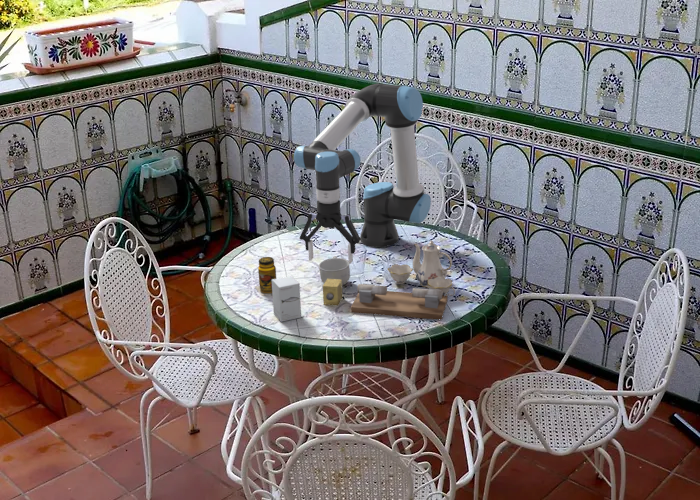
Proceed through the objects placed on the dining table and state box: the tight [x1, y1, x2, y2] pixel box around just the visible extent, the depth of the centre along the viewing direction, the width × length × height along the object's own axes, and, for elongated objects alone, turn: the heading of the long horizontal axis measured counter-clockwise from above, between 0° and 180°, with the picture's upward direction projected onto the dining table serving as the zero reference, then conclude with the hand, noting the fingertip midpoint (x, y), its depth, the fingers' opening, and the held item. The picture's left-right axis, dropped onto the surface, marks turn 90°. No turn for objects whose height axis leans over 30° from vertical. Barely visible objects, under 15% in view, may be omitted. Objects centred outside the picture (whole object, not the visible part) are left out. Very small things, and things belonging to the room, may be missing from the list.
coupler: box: [322, 279, 343, 307], centre depth 285 cm, size 5×8×7 cm, turn 166°
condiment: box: [254, 256, 277, 297], centre depth 294 cm, size 7×8×12 cm
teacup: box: [318, 255, 351, 287], centre depth 299 cm, size 14×11×8 cm
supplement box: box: [271, 275, 302, 323], centre depth 275 cm, size 7×7×13 cm
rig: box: [350, 283, 449, 321], centre depth 279 cm, size 14×30×7 cm, turn 76°
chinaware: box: [387, 240, 456, 297], centre depth 292 cm, size 28×17×17 cm, turn 53°
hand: (330, 260), depth 280 cm, fingers open, 13 cm apart
